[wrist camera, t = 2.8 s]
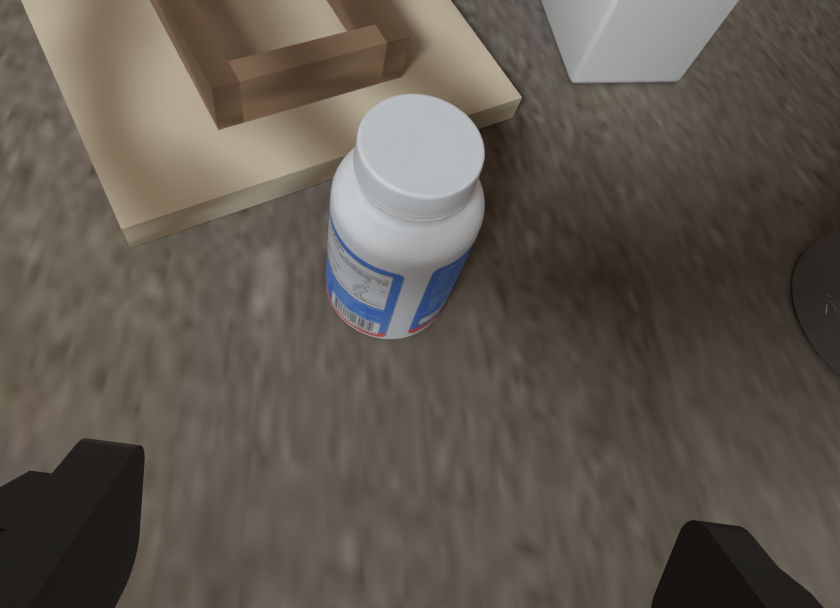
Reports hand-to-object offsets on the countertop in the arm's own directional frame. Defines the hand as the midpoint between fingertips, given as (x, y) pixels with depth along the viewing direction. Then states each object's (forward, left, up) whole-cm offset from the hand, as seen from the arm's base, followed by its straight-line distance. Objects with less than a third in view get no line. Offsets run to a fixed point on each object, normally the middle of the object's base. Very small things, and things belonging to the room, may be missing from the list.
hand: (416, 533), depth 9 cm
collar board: (-8, -24, -15) cm, 29 cm away
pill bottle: (-7, -10, -15) cm, 19 cm away
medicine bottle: (-27, -19, -15) cm, 36 cm away
